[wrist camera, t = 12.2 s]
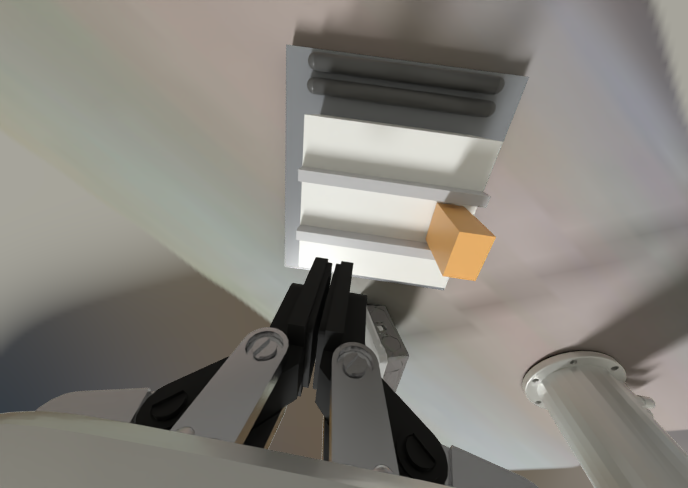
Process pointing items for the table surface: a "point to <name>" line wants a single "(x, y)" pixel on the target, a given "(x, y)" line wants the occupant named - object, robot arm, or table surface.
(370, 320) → the electrical switch
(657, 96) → the table surface
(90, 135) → the table surface
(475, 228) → the handle
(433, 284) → the block
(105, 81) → the table surface
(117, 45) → the table surface
